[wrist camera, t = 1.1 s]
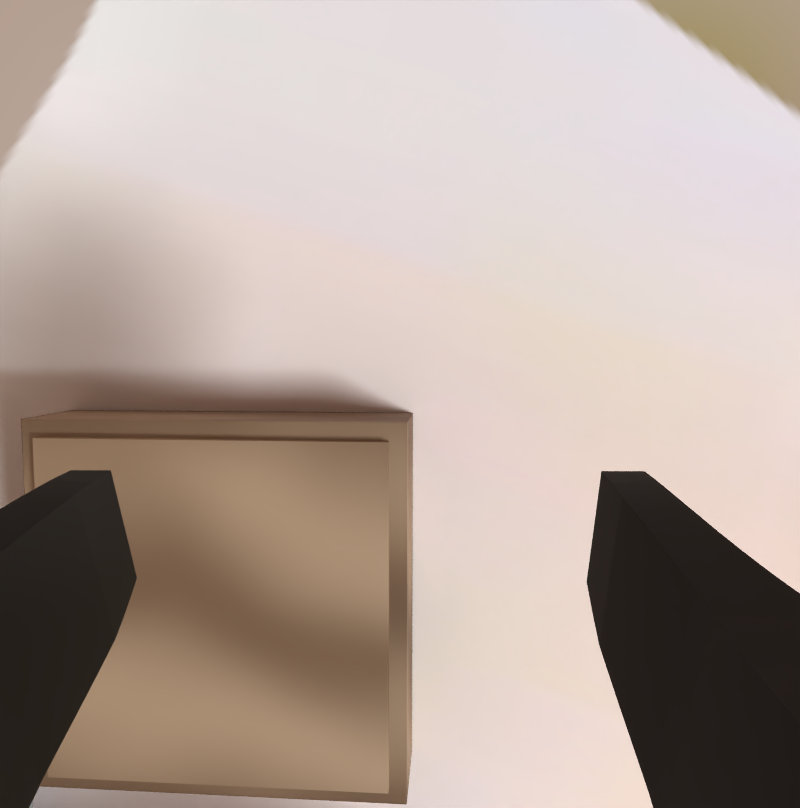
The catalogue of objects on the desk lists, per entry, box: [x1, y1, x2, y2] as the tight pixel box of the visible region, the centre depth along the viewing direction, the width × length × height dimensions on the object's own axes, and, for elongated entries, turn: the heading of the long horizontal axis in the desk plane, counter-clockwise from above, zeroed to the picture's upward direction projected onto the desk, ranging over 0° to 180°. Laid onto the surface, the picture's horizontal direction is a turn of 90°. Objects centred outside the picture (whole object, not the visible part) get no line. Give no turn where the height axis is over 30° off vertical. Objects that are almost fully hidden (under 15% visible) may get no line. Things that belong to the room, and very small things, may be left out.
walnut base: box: [21, 410, 413, 804], centre depth 21 cm, size 11×11×3 cm
